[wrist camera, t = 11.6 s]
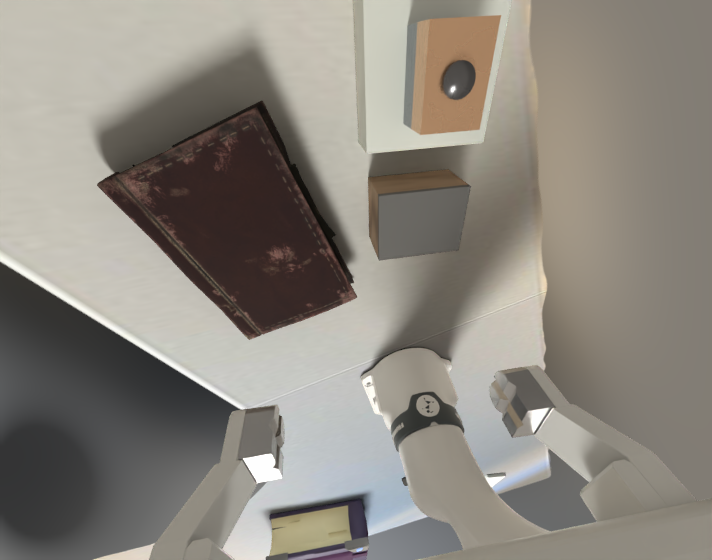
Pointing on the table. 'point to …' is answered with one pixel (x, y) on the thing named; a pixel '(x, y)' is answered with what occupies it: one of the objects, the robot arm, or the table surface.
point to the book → (320, 533)
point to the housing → (448, 73)
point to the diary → (238, 223)
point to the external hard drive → (494, 478)
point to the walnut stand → (416, 213)
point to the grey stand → (388, 64)
